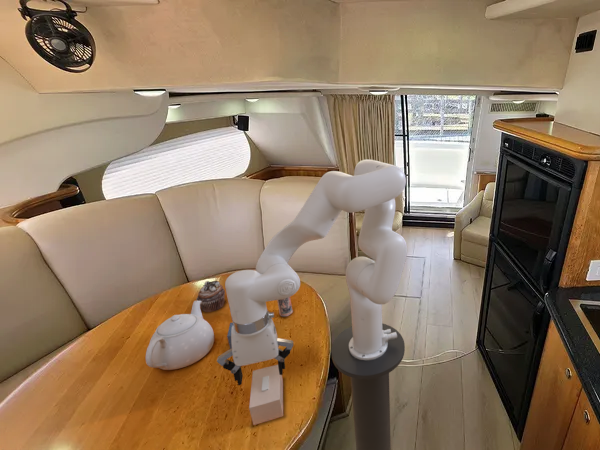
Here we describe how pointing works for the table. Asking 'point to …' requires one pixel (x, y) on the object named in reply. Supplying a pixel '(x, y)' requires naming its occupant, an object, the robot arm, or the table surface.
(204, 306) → the cupcake
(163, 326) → the teapot
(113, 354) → the table surface
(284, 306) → the beer can
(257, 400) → the front tissue box
